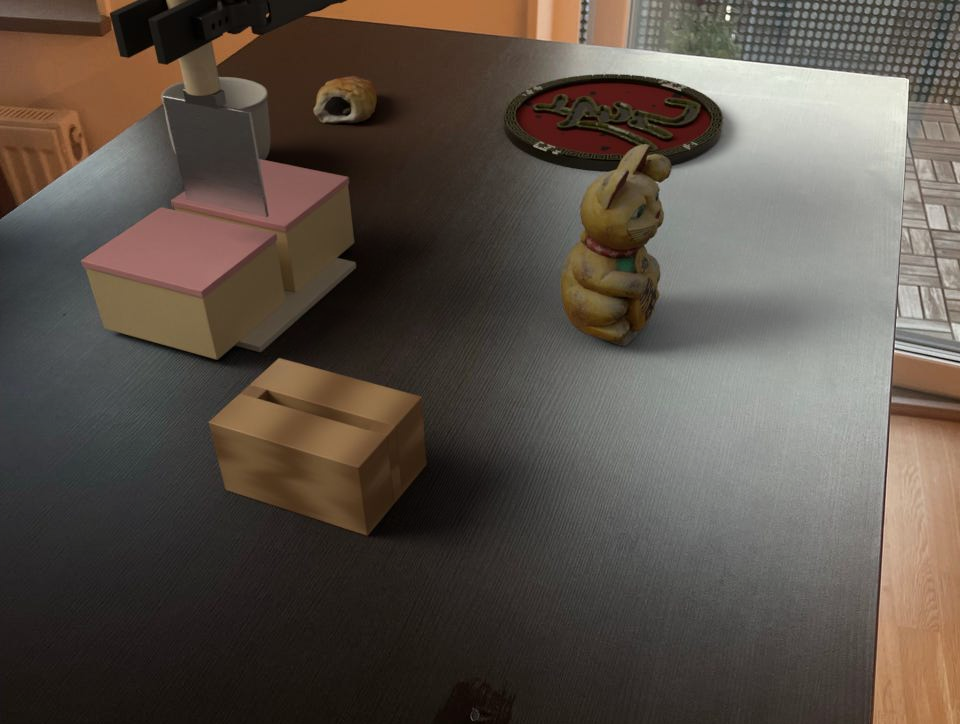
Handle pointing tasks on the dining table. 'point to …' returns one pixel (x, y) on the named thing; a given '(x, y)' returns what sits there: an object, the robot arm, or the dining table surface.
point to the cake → (227, 265)
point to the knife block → (321, 444)
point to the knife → (214, 139)
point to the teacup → (238, 106)
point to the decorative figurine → (617, 250)
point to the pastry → (346, 100)
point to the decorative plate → (611, 120)
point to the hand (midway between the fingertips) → (138, 38)
